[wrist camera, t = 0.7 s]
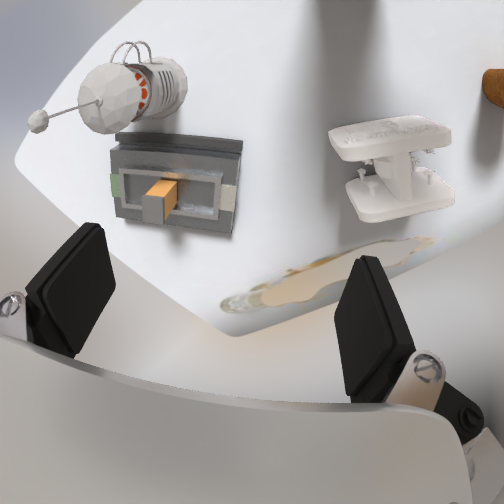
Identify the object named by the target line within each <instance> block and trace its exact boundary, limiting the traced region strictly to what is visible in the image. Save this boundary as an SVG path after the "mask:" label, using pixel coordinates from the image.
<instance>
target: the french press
mask: <svg viewBox="0 0 504 504" xmlns="http://www.w3.org/2000/svg"><path fill="white" fill-rule="evenodd" d="M138 43H141V44H144V45H145V46H146V47H147V48H148V51H149V57H150V59H148V60H146V61H144V62H141V61H140V53H139V49H138V47H137V46H136V45H135V44H138ZM124 44H132V46H130V47H129V49H128V50H127V51H126V53H125V56H124V58H123V63H112V60H113V57H114V55H115V53H116V52H117V50H118V49H119V48H120V47H121V46H123V45H124ZM133 46H134V47H135V48H136V49H137V52H138V60H139V64H128V63H125V58H126V56H127V53H128V52H129V51H130V49H131V48H132V47H133ZM186 93H187V77H186V75H185V73H184V71H183V69H182V67H181V66H180V65H179V64H177V63H176V62H175V61H174V60H172V59H168V58H164V57H156V58H151V50H150V47H149V46H148V45H147V44H146V43H145V42H142V41H138V42H135V43H132V42H124V43H122V44H121V45H119V46H118V47H117V48H116V50H115V51H114V52H113V54H112V57H111V59H110V63H107V64H103V65H100V66H97V67H96V68H95V69H93V70H92V71H91V72H90V73H88V74H87V76H86V77H85V79H84V81H83V82H82V84H81V86H80V90H79V95H78V106H77V107H74V108H71V109H68V110H65V111H62V112H59V113H56V114H53V115H51V116H48V115H47V112H46V111H45V110H42V109H40V110H37V111H35V112H34V113H33V114H32V115H31V116H30V117H29V120H28V126H29V128H30V130H31V132H33V133H36V134H38V133H40V132H43V131H45V130H46V128H47V127H48V122H49V119H50V118H52V117H55V116H58V115H60V114H63V113H66V112H69V111H72V110H75V109H78V108H79V113H80V115H81V117H82V119H83V121H84V123H85V124H86V125H87V126H88V127H89V128H90V129H91V130H92V131H94V132H97V133H101V134H104V135H105V134H113V133H117V132H119V131H121V130H122V129H124V128H125V127H127V126H128V125H129V124H130V122H136V121H138V120H141V119H143V118H146V117H149V118H152V119H153V118H163V117H166V116H168V115H169V114H171V113H173V112H175V111H176V110H177V109H178V107H179V106H180V105H181V104H182V103H183V101H184V98H185V96H186Z"/></svg>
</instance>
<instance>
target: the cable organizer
mask: <svg viewBox="0 0 504 504" xmlns="http://www.w3.org/2000/svg"><path fill="white" fill-rule="evenodd" d="M328 136H329V140H330V144H331V145H332V146H333V148H334V149H335V150H336V152H337V153H338V155H339V156H340V157H341V159H342V160H344V161H351V162H355V161H362V162H364V163H365V165H367V164H372V165H373V163H372V162H374V166H375V171H376V173H377V174H375V175H371V176H366V177H364V173H366V172H365V171H366V169H362V168H360V170H357V171H359V172H358V174H359V175H360V178H356V179H353V180H351V181H349V182H347V183H346V191H347V195H348V197H349V199H350V200H351V202H352V204H353V206H354V209H355V211H356V213H357V215H358V217H359V219H360V220H361V221H363V222H367V223H378V222H383V221H388V220H392V219H397V218H401V217H406V216H410V215H415V214H419V213H424V212H428V211H433V210H437V209H442V208H446V207H449V206H451V205H453V203H454V201H455V191H454V190H453V189H452V188H451V187H450V186H449V185H448V184H446V183H445V182H444V181H443V180H442V179H441V178H439V177H438V176H437V175H436V174H435V173H434V172H435V171H431V170H430V169H428V168H425V167H417V166H416V162H419V161H418V160H419V159H415V158H412V159H411V155H410V153H409V152H414V151H420V150H422V151H425V152H426V153H427V154H428V153H433V151H435V150H433V148H440V147H445V146H448V145H450V144H451V143H452V138H451V130H450V129H449V128H447V127H445V126H443V125H441V124H438V123H436V122H434V121H432V120H429V119H427V118H424V117H422V116H416V115H410V116H401V117H393V118H387V119H380V120H374V121H368V122H362V123H357V124H352V125H346V126H341V127H337V128H334V129H332V130H330V131H329V132H328ZM433 154H435V153H433ZM371 159H373V161H371ZM364 160H365V161H364ZM411 160H412V164H411ZM419 163H420V162H419Z"/></svg>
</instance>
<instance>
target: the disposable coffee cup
mask: <svg viewBox="0 0 504 504" xmlns="http://www.w3.org/2000/svg"><path fill="white" fill-rule="evenodd" d="M482 83H483V89H484V92H485V95H486V96H487V98H488V99H489V100H490V101H491V102H492V103H494V104H496V105H498V106H500V107H502V108H504V69H488V70H487V71H486V72H485V73H484V75H483V80H482Z"/></svg>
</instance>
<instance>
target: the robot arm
mask: <svg viewBox="0 0 504 504" xmlns="http://www.w3.org/2000/svg"><path fill="white" fill-rule="evenodd" d="M115 286H116V283H115V278H114V274H113V270H112V265H111V261H110V256H109V252H108V247H107V242H106V237H105V232H104V229H103V228H101V226H100V224H98V223H89V222H86V223H84V224H83V225H82V226H81V227H80V228H79V229H78V230H77V231H76V232H75V233H74V234H73V235H72V236H71V237H70V238H69V239H68V240H67V241H66V242H65V243H64V244H63V245H62V247H60V249H59V250H58V251H57V252H56V253H55V254H54V255H53V256H52V257H51V258H50V259H49V260H48V262H47V263H46V264H45V265H44V266H43V267H42V268H41V270H40V271H39V272H38V273H37V274H36V275H35V277H34V278H33V279H32V280H31V281H30V282H29V284H28V285H27V286H26V287H25V289H26V292H27V294H28V295H27V296H26V297H25V296H24V295H23V294H22V293H21V292H16V291H14V292H10V293H8V294H6V295H4V296H3V297H2V298H1V299H0V504H491V503H492V501H493V500H494V499H495V497H496V496H497V494H498V493H499V491H500V490H501V488H502V487H503V485H504V450H503V448H502V447H501V446H500V444H499V442H498V441H497V440H496V438H495V437H494V436H493V434H492V433H491V432H490V430H489V429H488V428H486V429H483V426H484V417H483V413H482V411H481V409H480V408H479V407H478V406H477V405H476V404H475V403H474V402H473V401H471V400H470V399H469V398H467V397H466V396H464V395H463V394H462V393H461V392H459V391H458V390H456V389H455V388H454V387H452V386H451V385H450V384H448V383H447V382H445V378H446V370H445V367H444V364H443V362H442V361H441V360H440V358H439V357H437V356H436V355H435V354H434V353H432V352H430V351H427V350H419V351H416V349H415V346H414V342H413V339H412V336H411V334H410V331H409V329H408V326H407V324H406V321H405V318H404V316H403V313H402V311H401V309H400V306H399V304H398V301H397V299H396V297H395V294H394V292H393V290H392V287H391V285H390V283H389V281H388V278H387V276H386V274H385V272H384V270H383V268H382V266H381V263H380V261H379V259H378V258H377V257H372V256H365V255H362V256H361V257H360V259H356V260H355V262H354V265H353V267H352V270H351V273H350V276H349V278H348V281H347V283H346V286H345V289H344V291H343V294H342V296H341V299H340V301H339V304H338V306H337V308H336V311H335V316H334V321H335V327H336V333H337V338H338V344H339V349H340V356H341V363H342V369H343V376H344V383H345V391H346V394H347V396H350V398H351V403H306V402H285V401H271V400H259V399H249V398H240V397H233V396H225V395H218V394H211V393H205V392H199V391H193V390H187V389H182V388H177V387H172V386H168V385H163V384H159V383H154V382H150V381H146V380H142V379H138V378H134V377H130V376H126V375H123V374H119V373H116V372H112V371H109V370H105V369H102V368H99V367H96V366H92V365H89V364H86V363H83V362H80V361H78V360H75V359H74V357H75V355H76V354H78V353H79V352H80V351H81V349H82V347H83V345H84V343H85V341H86V340H87V338H88V336H89V334H90V332H91V330H92V329H93V327H94V325H95V323H96V321H97V320H98V318H99V316H100V314H101V312H102V311H103V309H104V307H105V306H106V304H107V302H108V301H109V299H110V297H111V295H112V294H113V292H114V290H115Z"/></svg>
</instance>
